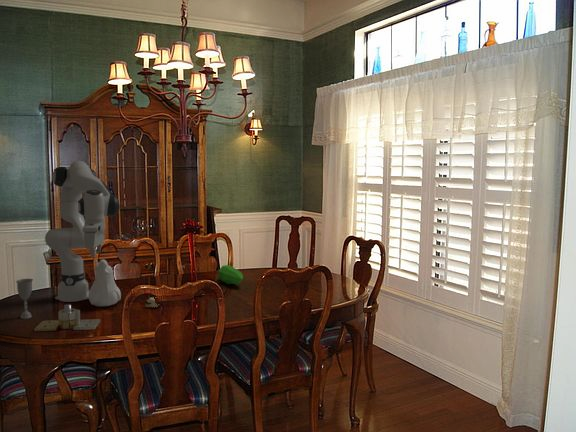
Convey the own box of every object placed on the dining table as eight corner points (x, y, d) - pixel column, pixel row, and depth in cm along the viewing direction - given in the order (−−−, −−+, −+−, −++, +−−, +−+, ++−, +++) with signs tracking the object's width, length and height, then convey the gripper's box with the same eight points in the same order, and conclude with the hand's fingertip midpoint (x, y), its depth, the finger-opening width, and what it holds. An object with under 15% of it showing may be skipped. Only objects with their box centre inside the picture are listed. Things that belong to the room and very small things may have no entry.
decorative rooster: (121, 308, 254) (120, 261, 252) (88, 311, 249) (86, 262, 246) (120, 295, 278) (119, 252, 275) (90, 298, 273) (89, 253, 270)
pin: (65, 325, 228) (65, 304, 227) (72, 325, 228) (72, 304, 227) (63, 327, 225) (63, 306, 224) (70, 327, 225) (70, 305, 224)
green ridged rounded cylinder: (225, 260, 321) (246, 267, 295) (231, 275, 324) (253, 283, 299) (210, 268, 316) (231, 276, 290) (217, 283, 319) (238, 293, 293)
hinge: (43, 323, 230) (42, 307, 229) (100, 321, 234) (99, 306, 233) (34, 331, 219) (33, 315, 219) (94, 329, 223) (93, 313, 222)
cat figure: (188, 302, 273) (142, 304, 260) (189, 286, 273) (144, 288, 260) (194, 306, 265) (147, 309, 252) (195, 290, 264) (149, 292, 251)
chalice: (30, 313, 244) (29, 277, 242) (37, 316, 239) (35, 280, 237) (15, 317, 238) (13, 280, 236) (21, 320, 234) (19, 283, 232)
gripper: (94, 222, 238) (94, 250, 240) (81, 228, 218) (82, 259, 220) (107, 222, 239) (108, 250, 241) (96, 228, 219) (97, 259, 220)
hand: (95, 255), depth 230 cm, fingers open, 8 cm apart
